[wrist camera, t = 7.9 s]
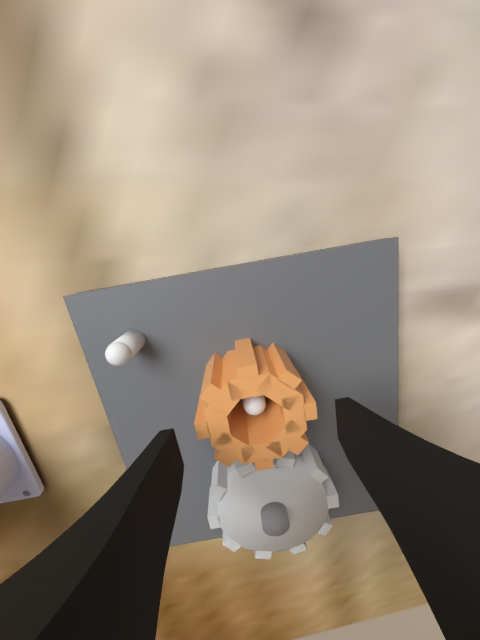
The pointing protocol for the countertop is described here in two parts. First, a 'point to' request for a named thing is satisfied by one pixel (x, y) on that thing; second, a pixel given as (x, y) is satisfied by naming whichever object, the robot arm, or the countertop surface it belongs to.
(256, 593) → the countertop surface
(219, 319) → the gear board
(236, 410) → the orange gear
